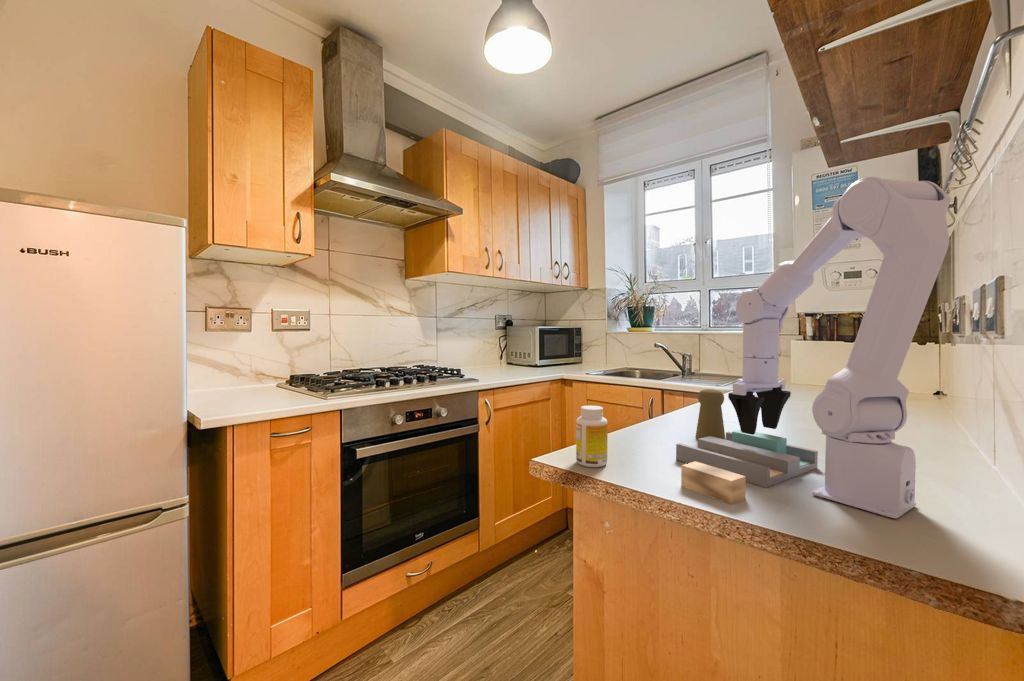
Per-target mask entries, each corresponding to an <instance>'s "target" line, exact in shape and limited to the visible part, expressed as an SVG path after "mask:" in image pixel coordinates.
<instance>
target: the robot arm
mask: <svg viewBox="0 0 1024 681" xmlns="http://www.w3.org/2000/svg"><path fill="white" fill-rule="evenodd" d="M951 201H952V198H951V196H950V195H949V194H948V193H946V191H944V189H942V188H941V187H940V186H939V185H938V184H936V183H935V182H932V181H929V180H915V181H913V180H902V179H889V178H881V177H877V176H866V177H862V178H860V179H857V180H855V181H854V182H853V183H851V184H850V185H849V186H848V187H847V188H846V190H845V191H844V192H843V194H842V196H840V197H839V198H838V199H836V201H835V202H833V204H832V205H833V206H832V211H831V212H832V215H831V217H829V219H828V220H827V221H826V222H825V224H824V225H823V226H822V227H821V229H820V230H819V231H818V232H817V233H816V234H815V236H813V238H812V239H811V240H810V241H809V243H808V244H807V245H806V246H805V247H804V249H803V250H802V251H801V252H800V253H799V254H798V256H797V257H796V258H795V259H794V260H787V261H783V262H780V263H778V264H777V265H776V266H775V268H774V271H772V273H771V274H770V275H769V276H768V277H767V278H766V279H765V280H764V281H763V282H762V283H760V284H759V285H758V287H757V288H754V289H752V290H747V291H743V292H742V293H741V294H740V296H739V297H738V299H737V301H736V306H735V313H736V315H737V316H736V317H737V319H738V320H739V321H740V322H741V323H743V325H742V377H741V378H738V379H736V382H733V383H732V392H728V394H727V395H728V400H729V401H730V403H731V404H732V407H733V409H734V411H735V412H736V413H735V414H736V416H737V420H738V424H739V428H740V429H739V430H741V432H742V433H747V434H751V435H753V434H755V432H757V426H758V420H759V419H758V417H759V414H761V421H762V422H761V423H762V427H764V428H767V429H773V430H777V428H778V425H779V422H780V419H781V415H782V411H783V410H784V407H785V404H786V403H787V401H788V400H789V399H790V398H791V395H792V394H791V393H792V392H791V391H788V390H786V379H785V378H779V364H780V363H779V361H780V360H779V356H780V355H779V354H780V353H779V352H780V332H782V330H783V324H784V323H783V322H784V321H785V319H786V318H787V315H788V313H789V306H790V305H791V304H792V303H793V302H794V301H796V300H797V299H798V298H799V297H800V296H801V295H802V294H803V293H805V292H806V291H807V290H808V289H809V288H810V287H811V286H812V285H813V284H814V280H815V277H814V273H815V272H817V271H818V270H819V269H821V268H822V267H823V266H825V264H827V263H828V262H829V261H831V259H833V258H834V257H836V256H837V255H838V254H839V253H840V252H841V251H843V250H844V249H845V248H846V247H847V246H849V245H850V244H852V242H854V241H855V240H859V239H865V238H867V239H869V240H871V241H872V242H873V244H875V245H874V246H876V247H877V248H878V250H880V252H881V253H882V254H883V258H882V261H881V264H880V267H879V270H878V273H877V277H876V278H875V281H874V285H873V288H872V291H871V293H870V297H869V299H868V302H867V305H866V307H865V311H864V314H863V317H862V319H861V322H860V325H859V329H858V331H857V335H856V337H855V340H854V343H853V345H852V349H851V352H850V355H849V358H848V361H847V363H846V366H845V367H844V368H843V369H841V370H839V371H838V372H837V373H835V374H834V375H832V376H831V377H830V378H828V379H827V381H826V384H825V386H824V388H823V390H822V391H821V392H820V393H819V394H818V395H817V396H815V399H814V401H813V403H812V411H811V412H812V416H813V420H814V421H815V423H816V425H817V427H818V428H819V429H820V430H821V435H824V436H825V452H824V453H825V454H824V455H825V459H824V460H825V461H824V462H825V463H824V464H825V465H824V485H823V486H820V487H819V488H816V489H815V490H812V492H811V493H812V495H813V496H817V497H819V498H823V499H827V500H830V501H834V502H836V503H840V504H843V505H848V506H850V507H854V508H858V509H861V510H864V511H867V512H870V513H874V514H877V515H881V516H884V517H887V518H890V519H891V518H892V519H898V518H900V517H902V516H903V515H905V514H906V513H907V512H908V511H910V510H912V509H913V508H914V507H916V506H917V502H916V499H915V496H916V494H915V493H916V454H915V451H914V449H913V448H912V447H910V446H907V445H902V444H898V443H895V442H893V441H892V440H896V432H898V431H900V430H901V429H902V428H903V427H904V426H905V424H906V422H907V419H908V410H907V399H908V396H909V393H910V390H909V388H907V387H906V386H905V385H904V384H903V383H902V382H901V381H900V380H899V379H898V378H899V376H900V373H901V369H902V367H903V365H904V362H905V360H906V357H907V354H908V352H909V349H910V346H911V344H912V342H913V339H914V337H915V334H916V331H917V329H918V326H919V324H920V321H921V318H922V316H923V314H924V311H925V308H926V306H927V302H928V301H929V298H930V296H931V294H932V290H933V289H934V285H935V283H936V280H937V277H938V275H939V272H940V270H941V267H942V264H943V262H944V259H945V256H946V255H947V252H948V248H949V244H950V236H949V230H948V223H947V216H946V215H947V212H948V209H949V206H950V204H951ZM755 393H756V394H755ZM760 412H761V413H760Z"/></svg>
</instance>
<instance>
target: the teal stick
mask: <svg viewBox="0 0 1024 681" xmlns="http://www.w3.org/2000/svg"><path fill="white" fill-rule="evenodd" d="M731 432H732V441H733V442H737V443H742V444H746V445H750V446H754V447H759V448H763V449H767V450H771V451H776V452H780V453H784V454H786V446H787V444H788V443H787V441H788V440H787V437H784V436H777V435H772V434H767V433H764V432H757V431H755V434H753V435H751V434H747V433H742V432H741V429H738V430H733V431H731Z"/></svg>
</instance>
